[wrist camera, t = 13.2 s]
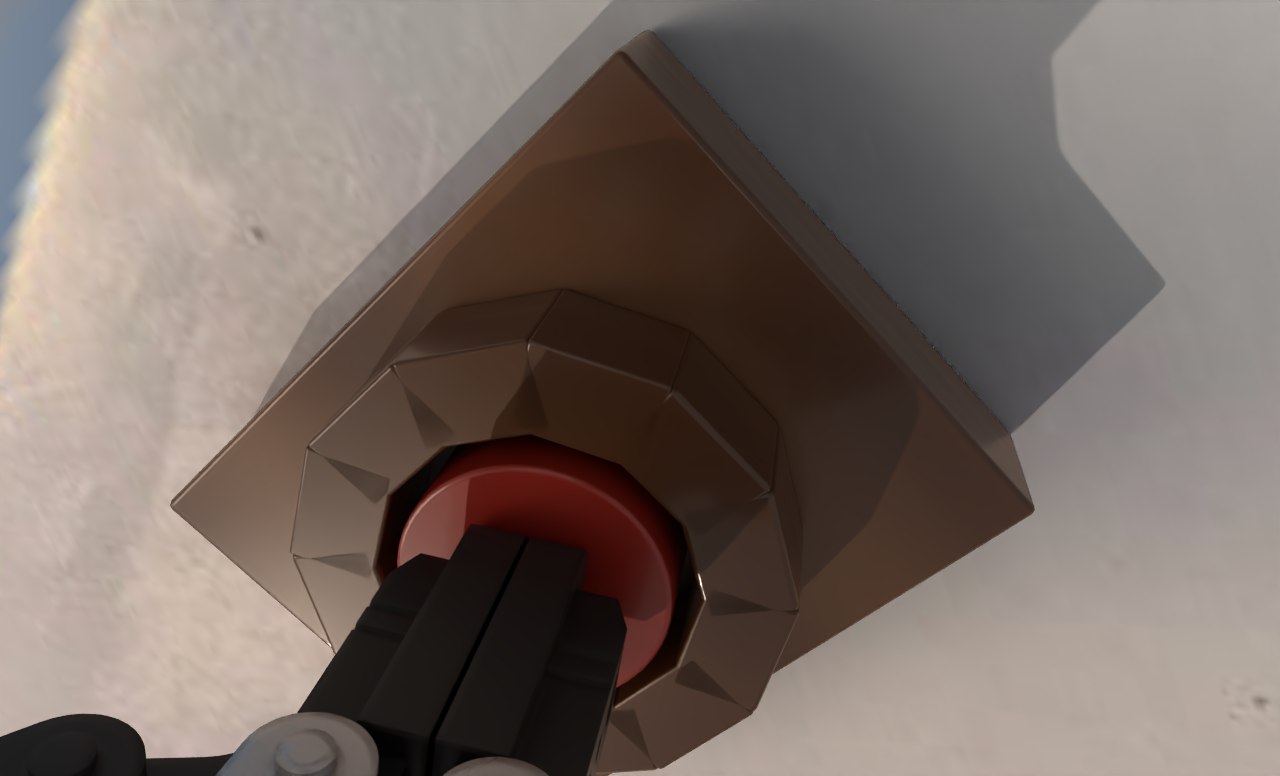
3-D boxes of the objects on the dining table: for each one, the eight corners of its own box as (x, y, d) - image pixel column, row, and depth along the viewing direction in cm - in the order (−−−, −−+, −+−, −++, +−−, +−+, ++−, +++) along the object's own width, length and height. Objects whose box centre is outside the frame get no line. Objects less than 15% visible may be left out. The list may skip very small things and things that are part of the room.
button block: (649, 25, 14) (586, 70, 11) (1013, 435, 16) (1065, 594, 12) (237, 440, 18) (91, 573, 15) (560, 733, 20) (500, 917, 16)
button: (560, 351, 14) (524, 411, 12) (744, 537, 14) (733, 615, 13) (391, 499, 15) (340, 569, 14) (565, 661, 16) (535, 745, 14)
